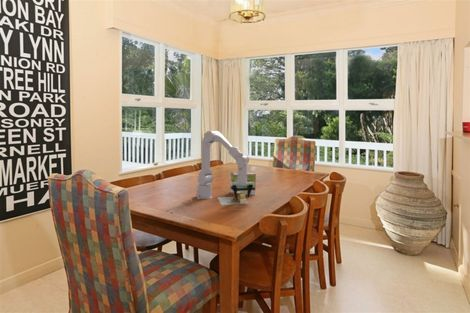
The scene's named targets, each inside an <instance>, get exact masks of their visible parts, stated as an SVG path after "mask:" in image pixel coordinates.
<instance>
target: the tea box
mask: <svg viewBox="0 0 470 313" xmlns="http://www.w3.org/2000/svg"><path fill="white" fill-rule="evenodd" d="M256 178H257V175H256V173H254V172H253V171H247V182H254V186H253V188H252V190H251V192H250V196H255V195H256ZM231 182H238V171H233V172H230V183H231ZM229 191H230V192H229V193H231V192H232V191H233V188H232V186H230V190H229ZM237 191H240V192H241V194H245V196H247V192H248V189H247V186H237Z"/></svg>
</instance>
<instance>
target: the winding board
mask: <svg viewBox="0 0 470 313" xmlns="http://www.w3.org/2000/svg"><path fill="white" fill-rule="evenodd" d="M230 194H232V196H221V197H219V196H218V197H217V200H218V201H219V203H220V205H221V206H226V205H227V206H228V205H229V206H230V205H249V203H248V202H247V198H246V197H245V198H242V199H240V202H239V194H241V192H240V191H237V198H235V194H234V191H232V192H230Z"/></svg>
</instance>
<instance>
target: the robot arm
mask: <svg viewBox="0 0 470 313" xmlns="http://www.w3.org/2000/svg"><path fill="white" fill-rule="evenodd" d="M213 143H219V144H221V145H222V146H223V147H224V148H225V149H226V150H227V151H228V154H229V155H230V156H231V157H232V158H233V159H234V160H235V163H236V165H237V172H238V182H231V181H230V182H229V183H230V184H229V186H230V187H231V186H232V188H233V191H234V194H235V198H237V186H247V189H248V192H247V195H246V196H247V198H250V196H251V195H250V192H251V190H252V188H253V186H254V182H247V172H248V163H249V161H250V159H249V156H248V155H247V154H244V153H243V152H241V151H240V150H239V147H237V146H232V144H231V143H230V142H229V141H228V140H227V138H225V137H224V135H223V134H222V133H221V132H220V131H219V130H208V131H206V132H204V133H203V138H202V140H201V162H200V163H201V167H200V168H201V169H200V170H199V172H198V176H197V183H198V184H196V193H195V195H196V199H197V200H200V199H203V200H204V199H213V196H212V182H213V181H214V176H213V172H212V170H211V145H212V144H213Z"/></svg>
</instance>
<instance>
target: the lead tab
mask: <svg viewBox="0 0 470 313" xmlns="http://www.w3.org/2000/svg"><path fill="white" fill-rule="evenodd" d="M242 198H246V195H245V194H239V202H240V199H242Z"/></svg>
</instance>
